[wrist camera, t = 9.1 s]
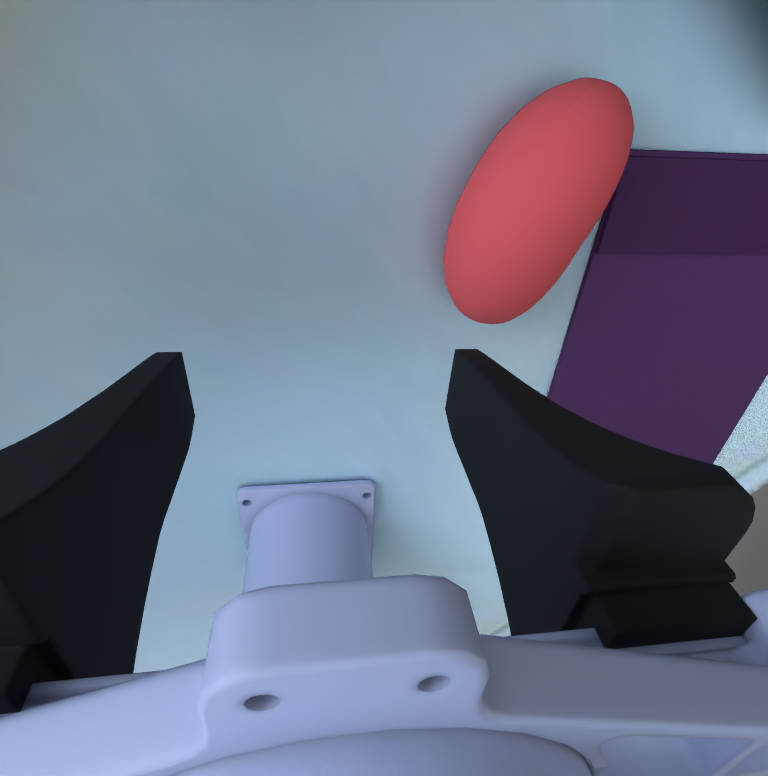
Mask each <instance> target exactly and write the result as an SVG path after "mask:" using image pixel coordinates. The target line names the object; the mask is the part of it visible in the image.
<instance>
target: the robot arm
mask: <svg viewBox="0 0 768 776" xmlns="http://www.w3.org/2000/svg"><path fill="white" fill-rule="evenodd" d="M445 410H446V414H447V419H448V423H449V428H450V432H451V435H452V439H453V442H454V444H455V447H456V449H457V452H458V454H459V457H460V460H461V462H462V465H463V467H464V469H465V472H466V474H467V477H468V479H469V482H470V484H471V487H472V489H473V492H474V494H475V497H476V499H477V502H478V504H479V507H480V510H481V513H482V516H483V520H484V523H485V527H486V531H487V534H488V538H489V541H490V545H491V549H492V553H493V557H494V561H495V565H496V569H497V573H498V577H499V581H500V585H501V590H502V594H503V599H504V603H505V608H506V612H507V617H508V621H509V626H510V632H511V636H507V637H501V636H492V635H483V634H479V632H478V629H477V625H476V622H475V619H474V615H473V612H472V608H471V605H470V601H469V598H468V595H467V591H466V590H464V589H463V588H461V587H460V586H458V585H456V584H455V583H453V582H452V581H450V580H448V579H446V578H444V577H438V576H426V575H403V576H390V577H377V578H373V572H372V564H371V559H372V542H373V524H374V506H375V483H374V482H373V481H371V480H354V481H337V482H320V483H302V484H285V485H267V486H250V487H242V488H240V489H239V490H238V493H237V500H238V506H239V511H240V517H241V522H242V527H243V533H244V538H245V544H246V549H247V562H246V570H245V578H244V586H243V593H241V594H240V595H238V596H237V597H235V598H234V599H233V600H231V601H230V602H228V603H227V604H226V605H224V606H223V607H221V608H220V609H218V610H217V611H216V612H215V616H214V620H213V624H212V628H211V633H210V639H209V645H208V651H207V656H206V659H203V660H199V661H196V662H192V663H189V664H185V665H182V666H178V667H175V668H171V669H168V670H162V671H152V672H142V673H133V671H134V664H135V657H136V651H137V645H138V640H139V634H140V628H141V623H142V617H143V611H144V606H145V601H146V596H147V591H148V586H149V581H150V576H151V571H152V567H153V562H154V558H155V553H156V549H157V544H158V540H159V535H160V532H161V529H162V525H163V522H164V519H165V516H166V513H167V510H168V507H169V504H170V502H171V499H172V496H173V493H174V490H175V487H176V485H177V482H178V479H179V476H180V473H181V470H182V467H183V464H184V462H185V459H186V456H187V453H188V450H189V446H190V441H191V436H192V430H193V424H194V419H195V413H194V408H193V404H192V399H191V394H190V389H189V385H188V380H187V375H186V370H185V365H184V361H183V356H182V352H157V353H155V354H153V355H152V356H150V357H149V358H147V359H146V360H145V361H143V362H142V363H140V364H139V365H138V366H136V367H135V368H134V369H132V370H131V371H130V372H128V373H127V374H126V375H124V376H123V377H122V378H120V379H119V380H118V381H116V382H115V383H114V384H112V385H111V386H109V387H108V388H107V389H105V390H104V391H103V392H101V393H100V394H98V395H97V396H95V397H94V398H92V399H91V400H89V401H88V402H86V403H85V404H83V405H82V406H80V407H79V408H77V409H76V410H74V411H73V412H71V413H70V414H68V415H66V416H65V417H63V418H61V419H60V420H58V421H56V422H54V423H53V424H51V425H49V426H47V427H46V428H44V429H42V430H40V431H38V432H36V433H35V434H33V435H31V436H29V437H27V438H25V439H23V440H21V441H19V442H17V443H15V444H12V445H10V446H8V447H6V448H4V449H2V450H0V776H768V589H763V590H757V591H753V592H750V593H748V594H746V595H744V596H742V597H740V596H739V595H738V593H737V592H736V591H735V590H734V588H733V587H732V586H731V584H730V583H729V582H733V581H734V580H735V579H736V577H735V573H734V572H733V571H732V569H731V568H730V567H729V566H728V565H727V563H726V562H725V561H724V560H725V559H726V558H727V556H728V555H729V554H730V553H731V551H732V550H733V549H734V547H735V546H736V545H737V543H738V542H739V541H740V539H741V538H742V537H743V536H744V534H745V533H746V531H747V530H748V528H749V526H750V525H751V523H752V521H753V516H754V512H755V504H754V500H753V498H752V496H751V495H750V494H749V493H748V492H747V491H746V490H745V489H744V488H743V487H742V486H741V485H740V484H739V483H738V482H737V481H736V480H735V479H734V478H733V477H732V476H731V475H730V474H729V473H728V472H727V471H726V470H725V469H724V468H723V467H721V466H717V465H713V464H710V463H706V462H702V461H699V460H695V459H691V458H688V457H684V456H680V455H676V454H673V453H670V452H667V451H664V450H661V449H658V448H655V447H652V446H649V445H646V444H643V443H640V442H638V441H635V440H632V439H630V438H627V437H625V436H622V435H620V434H617V433H615V432H613V431H610V430H608V429H606V428H603V427H601V426H599V425H597V424H595V423H592V422H590V421H588V420H586V419H584V418H582V417H581V416H579V415H577V414H575V413H573V412H571V411H569V410H567V409H565V408H564V407H562V406H560V405H558V404H557V403H555V402H553V401H552V400H550V399H549V398H547V397H545V396H544V395H542V394H541V393H539V392H537V391H536V390H534V389H533V388H531V387H530V386H528V385H527V384H526V383H524V382H523V381H521V380H520V379H518V378H517V377H516V376H514V375H513V374H511V373H510V372H509V371H507V370H506V369H505V368H503V367H502V366H501V365H499V364H498V363H496V362H495V361H494V360H492V359H491V358H490V357H488V356H487V355H485V354H484V353H482V352H481V351H479V350H477V349H455V354H454V360H453V366H452V371H451V377H450V383H449V389H448V395H447V401H446V407H445ZM365 493H368V494H365ZM245 500H249V501H245Z"/></svg>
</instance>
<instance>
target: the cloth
mask: <svg viewBox="0 0 768 776" xmlns="http://www.w3.org/2000/svg"><path fill="white" fill-rule="evenodd" d="M767 374H768V154H741V153H715V152H688V151H661V150H635V149H630V152H629V156H628V160H627V163H626V166H625V168H624V171H623V173H622V176H621V178H620V181H619V183H618V185H617V187H616V189H615V191H614V193H613V195H612V197H611V199H610V201H609V203H608V205H607V207H606V208H605V210H604V214H603V217H602V220H601V223H600V227H599V230H598V233H597V236H596V240H595V243H594V246H593V250H592V253H591V256H590V259H589V263H588V266H587V269H586V273H585V276H584V279H583V282H582V286H581V289H580V292H579V295H578V299H577V302H576V305H575V309H574V312H573V315H572V318H571V322H570V325H569V328H568V332H567V335H566V338H565V341H564V345H563V348H562V351H561V354H560V358H559V361H558V364H557V368H556V371H555V374H554V377H553V381H552V384H551V387H550V391H549V394H548V397H547V398H549V399H550V400H552V401H553V402H555V403H557V404H558V405H560V406H562V407H564V408H565V409H567V410H569V411H571V412H573V413H575V414H577V415H579V416H581V417H582V418H584V419H586V420H588V421H590V422H592V423H595V424H597V425H599V426H601V427H603V428H606V429H608V430H610V431H613V432H615V433H617V434H620V435H622V436H625V437H627V438H630V439H632V440H635V441H638V442H640V443H643V444H646V445H649V446H652V447H655V448H658V449H661V450H664V451H667V452H670V453H673V454H676V455H680V456H684V457H688V458H691V459H695V460H699V461H702V462H706V463H710V464H713V462H714V461H715V459H716V458H717V456H718V454H719V453H720V451H721V449H722V448H723V446H724V445H725V443H726V441H727V440H728V438H729V436H730V435H731V433H732V431H733V430H734V428H735V427H736V425H737V423H738V422H739V420H740V418H741V417H742V415H743V413H744V412H745V410H746V409H747V407H748V405H749V404H750V402H751V400H752V399H753V397H754V396H755V394H756V392H757V391H758V389H759V387H760V386H761V384H762V382H763V381H764V379H765V378H766V376H767Z"/></svg>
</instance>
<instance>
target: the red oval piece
mask: <svg viewBox="0 0 768 776" xmlns="http://www.w3.org/2000/svg"><path fill="white" fill-rule="evenodd" d="M633 131H634V126H633V117H632V111H631V106H630V103H629V100H628V99H627V97H626V95H625V94H624V92H623V91H622V90H621V89H620V88H619V87H617V86H616V85H614V84H612V83H611V82H607V81H604V80H600V79H595V78H580V79H576V80H573V81H570V82H567V83H564V84H561V85H558V86H555V87H553V88H551V89H549V90H547V91H545V92H544V93H543V94H541V95H540V96H538V97H537V98H536V99H534V100H533V101H531V102H530V103H528V104H527V105H526V106H524V107H523V108H522V109H521V110H520V111H519V112H518V113H517V114H516V115H515V116H514V117H513V118H512V119H511V120H510V121H509V122H508V123H507V124H506V125H505V126H504V127H503V128H502V129H501V130H500V132H499V133H498V134H497V135H496V137H495V138H494V140H493V141H492V143H491V144H490V146H489V147H488V149H487V150H486V152H485V153H484V154H483V156H482V157H481V159H480V160H479V162H478V164H477V166H476V167H475V169H474V171H473V173H472V175H471V177H470V179H469V180H468V182H467V184H466V186H465V188H464V190H463V192H462V195H461V197H460V199H459V201H458V203H457V206H456V208H455V211H454V214H453V217H452V220H451V223H450V226H449V228H448V232H447V238H446V245H445V252H444V259H443V260H444V271H445V282H446V286H447V289H448V291H449V293H450V296H451V298H452V300H453V302H454V304H455V306H456V307H457V308H458V309H459V311H460V312H461V313H463V314H464V315H465V316H467V317H468V318H470V319H472V320H474V321H477V322H481V323H486V324H499V323H504V322H507V321H509V320H512V319H514V318H515V317H517V316H519V315H521V314H522V313H524V312H526V311H527V310H528V309H530V308H531V307H532V306H533V305H534V304H536V303H537V302H538V301H539V300H540V299H541V298H542V297H543V296H544V295H545V294H546V293H547V292H548V291H549V289H550V288H551V287H552V286H553V285H554V284H555V282H556V281H557V280H558V279H559V277H560V276H561V275H562V273H563V272H564V270H565V269H566V267H567V266H568V265H569V263H570V262H571V260H572V259H573V257H574V255H575V254H576V252H577V251H578V249H579V248H580V246H581V245H582V243H583V242H584V240H585V239H586V237H587V236H588V235H589V233H590V232H591V230H592V229H593V227H594V226H595V224H596V223H597V221H598V219H599V218H600V216H601V215H602V213H603V212H604V210H605V208H606V207H607V205H608V203H609V201H610V199H611V197H612V195H613V193H614V191H615V189H616V187H617V185H618V183H619V181H620V178H621V176H622V173H623V171H624V168H625V166H626V163H627V160H628V156H629V152H630V148H631V143H632V138H633Z"/></svg>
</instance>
